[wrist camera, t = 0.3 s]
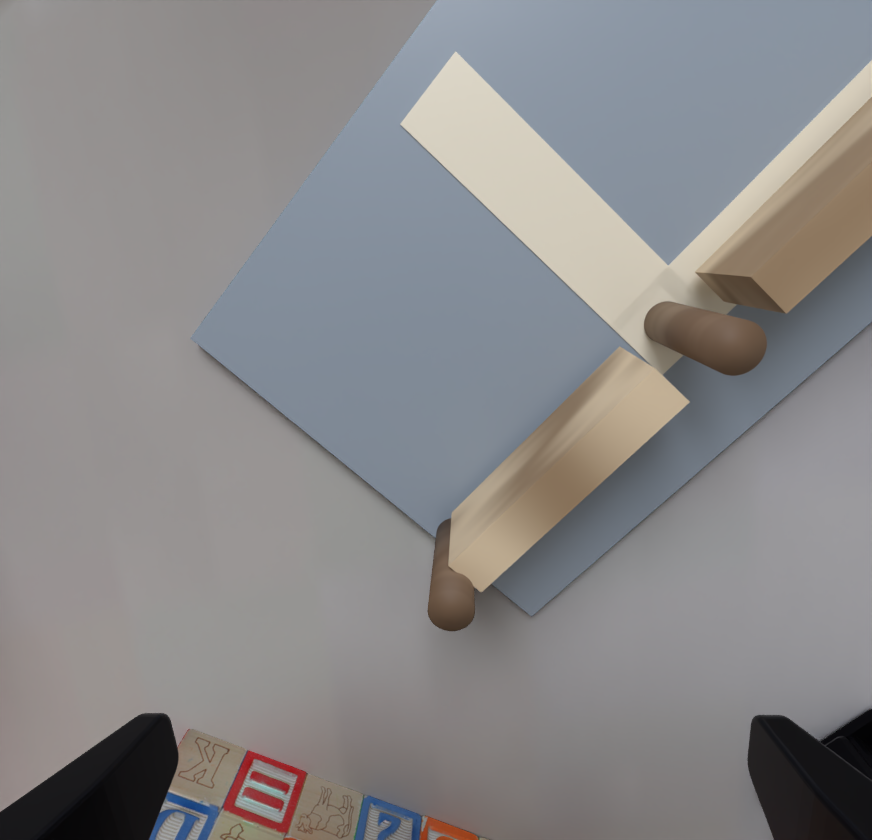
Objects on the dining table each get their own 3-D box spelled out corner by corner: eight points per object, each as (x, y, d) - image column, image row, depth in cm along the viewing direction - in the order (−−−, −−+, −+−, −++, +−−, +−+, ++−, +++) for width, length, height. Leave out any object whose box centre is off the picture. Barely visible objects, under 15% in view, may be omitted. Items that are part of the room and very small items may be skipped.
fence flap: (619, 346, 18) (668, 376, 14) (648, 373, 18) (705, 412, 14) (428, 535, 21) (417, 611, 16) (456, 557, 21) (453, 639, 16)
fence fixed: (953, 61, 16) (1204, -37, 11) (656, 348, 19) (733, 387, 14) (924, 26, 16) (1166, -93, 10) (629, 321, 19) (695, 350, 13)
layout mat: (1054, 149, 17) (1077, 144, 16) (530, 607, 23) (531, 617, 22) (681, -324, 14) (691, -350, 13) (198, 335, 20) (189, 338, 19)
